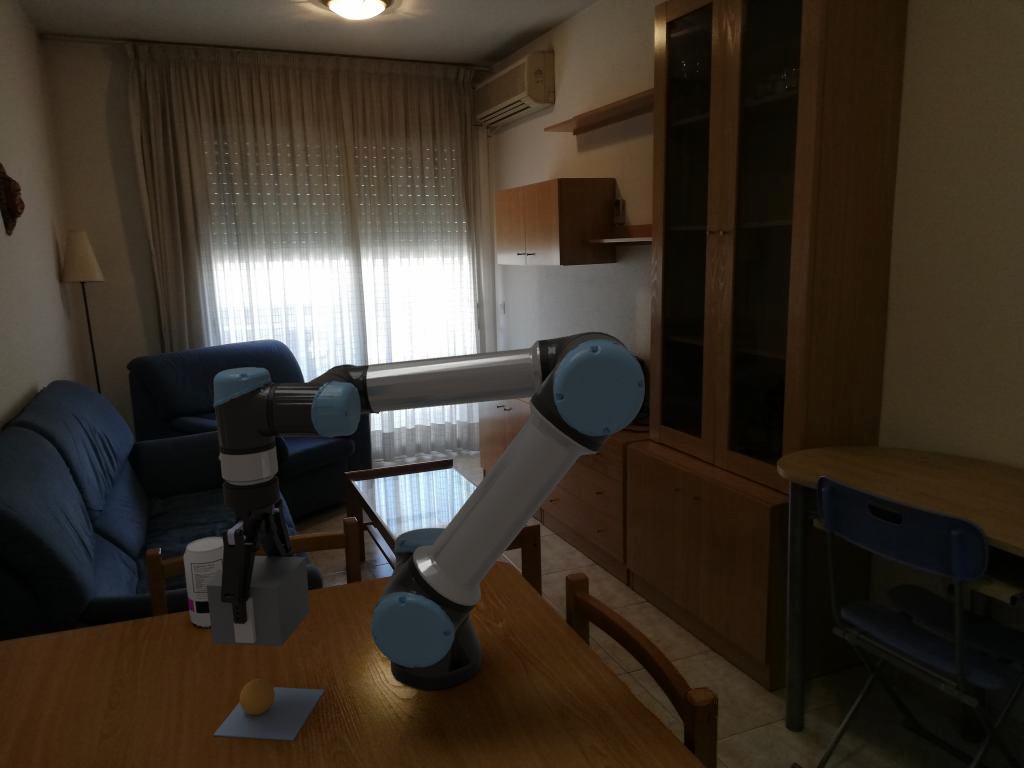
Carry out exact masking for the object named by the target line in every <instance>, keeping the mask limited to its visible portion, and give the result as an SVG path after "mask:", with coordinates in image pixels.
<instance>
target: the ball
mask: <svg viewBox="0 0 1024 768" xmlns="http://www.w3.org/2000/svg"><path fill="white" fill-rule="evenodd" d="M273 687H274V686H273V685H272V684H271V682H269V681H268V680H266V679H263V678H256V679H252V680H251V681H249V682H247V683H246V684H245V685H244V686H243V687H242V689H241V691H240V694H239V702H240V705H241V707H242V709H243V710H244V711H245V712H246V713H248V714H251V715H259V714H262V713H264V712H266V711H267V710H268V709H269V708H270V707H271V705H272V704H273V701H274V698H275V692H274V688H273Z"/></svg>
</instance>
